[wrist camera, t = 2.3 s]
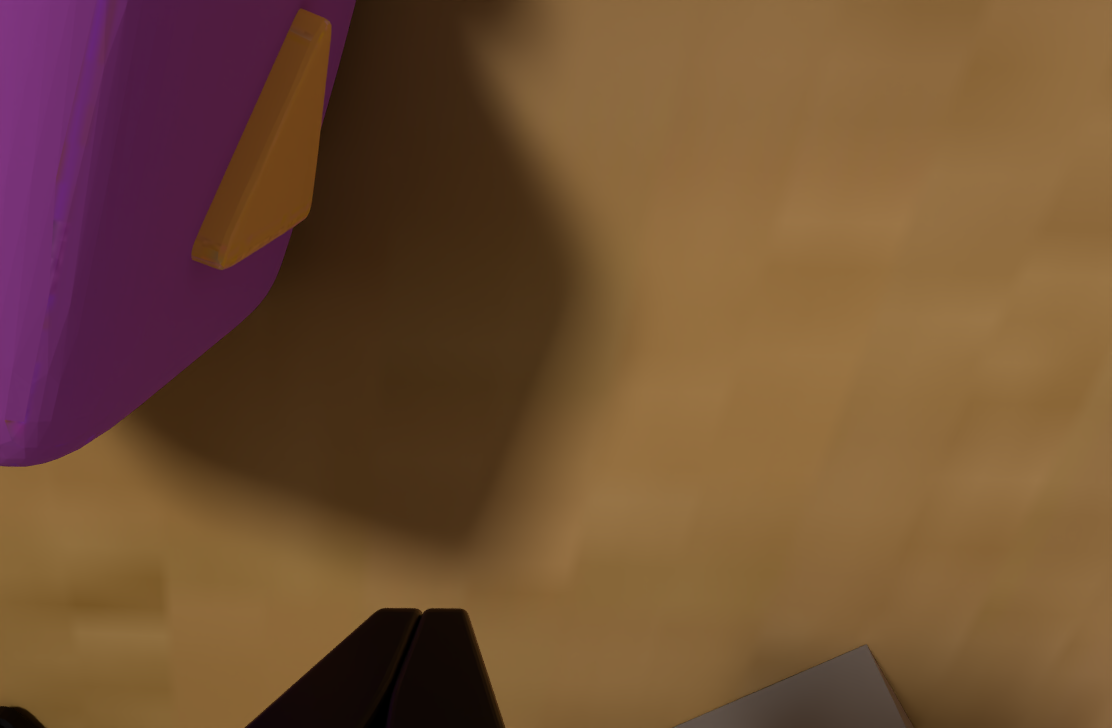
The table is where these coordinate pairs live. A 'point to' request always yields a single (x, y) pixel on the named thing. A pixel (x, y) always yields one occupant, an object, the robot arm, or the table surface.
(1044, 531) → the table surface
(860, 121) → the table surface
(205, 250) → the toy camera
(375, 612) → the robot arm
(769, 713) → the block
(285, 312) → the table surface
